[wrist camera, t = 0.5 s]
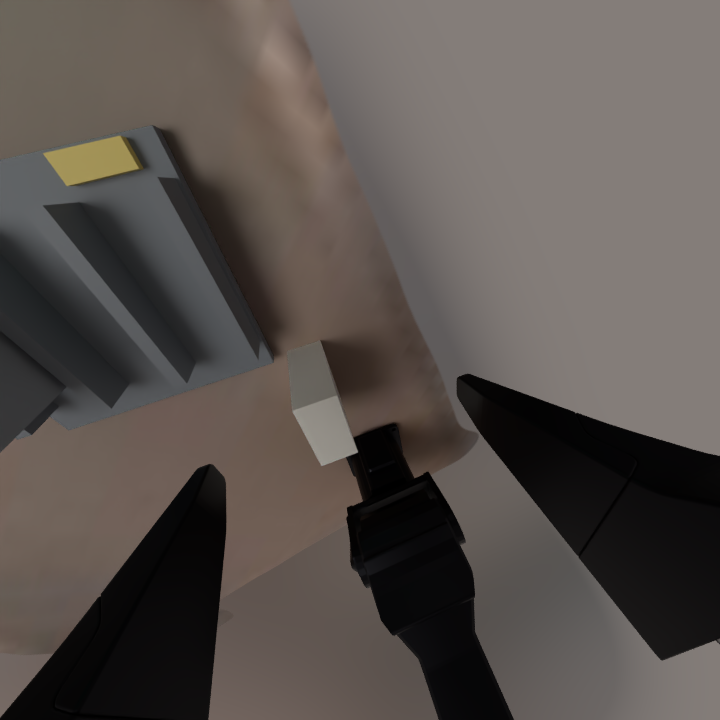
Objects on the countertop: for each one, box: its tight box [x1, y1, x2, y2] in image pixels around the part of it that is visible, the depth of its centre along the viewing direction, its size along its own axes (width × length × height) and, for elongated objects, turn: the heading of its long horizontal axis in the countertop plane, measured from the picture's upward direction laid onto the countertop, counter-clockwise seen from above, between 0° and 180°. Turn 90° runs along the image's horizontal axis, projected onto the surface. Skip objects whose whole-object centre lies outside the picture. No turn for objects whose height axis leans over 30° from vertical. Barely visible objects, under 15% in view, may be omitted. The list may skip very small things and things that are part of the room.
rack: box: [0, 125, 274, 452], centre depth 13 cm, size 14×15×8 cm
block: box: [287, 340, 358, 466], centre depth 20 cm, size 6×3×7 cm, turn 12°
